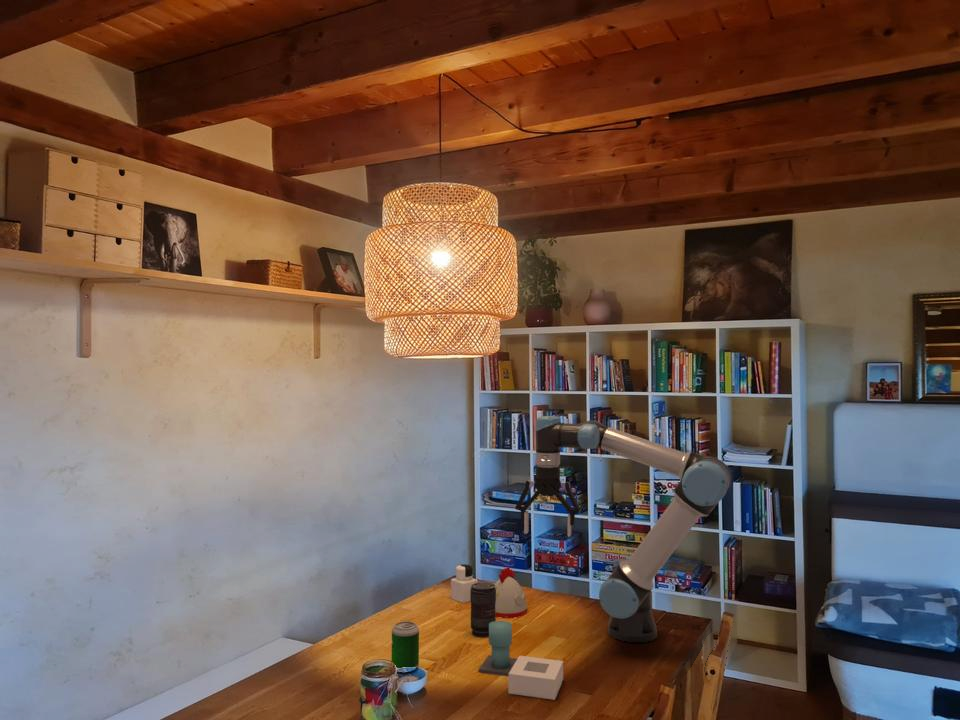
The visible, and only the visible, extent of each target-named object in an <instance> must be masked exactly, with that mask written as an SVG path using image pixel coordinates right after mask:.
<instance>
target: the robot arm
mask: <svg viewBox="0 0 960 720" xmlns="http://www.w3.org/2000/svg"><path fill="white" fill-rule="evenodd" d="M536 418H537V419H536V421H535V422H536V424H535V464H536V466H535V481H534V480H533V481H532V480H531V479H528V480H526V481H525V484H524V489H523V492H521V495H520V497H519V499H518V501H517V502H516V504H515V510H516V511H519V512H520V518H521V519H520V521H521V523H523V524H524V526H523V527H524V528H523V531H524V535H525V534H526V535H527V534H528V533H529V531H530V530H529V529H530V528H529V520H530V519H529V516H530V515H529V510H527V509H528V508H529V507H530V506H531V505H532V504H533V503H534V502H535V501H536V499H537V498H538V497H539V496H540V495H541V496H542V497H554V496H555V498H556V499H558V501H559V502H560V503H561V504H562V506H563V507H564V509H565V510H566V511H567V512H568V514H567V537H568V538H569V537H571V536H572V526H575V523H576V520H575V519H576V518H575V517H576V515H577V514H580V512H581V511H582V509H581V507H580V505H579V503H578V501H577V499H576V497H575V494H574V493H573V490H572V488H571V482H570V481H566V482H561V467H560V465H561V448H570V449H583V450H593V449H594V450H595V449H596V448H597V449H600V450H603V451H606V452H609V453H611V454H615V455H618V456H619V457H623V458H626V459H628V460H631V461H634V462H637V463H639V464H641V465H644V466H648V467H651V468H653V469H656V470H658V471H661V472H665V473H667V474H670V475H673V476H675V477H678V478H679V481H678V483H677V484H676V486H675V487H674V489H673V496H674V497H673V499H672V501H671V502H670V503H669V505H668V506H667V508H666V509H664V511H663V512H662V514H661V515H660V517H659V518H658V519H657V521H656V522H655V523H654V525H653V526H652V528H651V529H650V530H649V531H648V533H647V535H646V536H645V537H644V538H643V540H642V541H641V543H640V544H639V545H638V547H637V548H636V549H635V550H634V552H633V553H632V554H631V555H630V558H617V559H615V560H614V561H613V565H612V568H613V570H612V572H611V574H610V575H609V577H608V578H607V579H606V580H604V582H602V583H601V586H600V589H599V592H598V600H599V603H600V606H601V607H602V609H603V610H604V611H605V612H606V613H607V614H608V615H609V617H610V618H609V620H608V623H607V634H608V635H609V637H612V638H613V639H615V640H617V639H618V640H617V641H620V640H621V642H624V641H627V642H626V643H631V642H644V643H649V642H648V641H650V642H653V641H654V639H655V638H656V639H657V638H658V628H657V625H656V621H655V618H654V615H653V612H652V590H653V588H654V581H653V580H654V578H655V577H656V575H658V573H659V572H660V570H661V569H662V568H663V566H664V565H665V564H666V563H667V561H668V560H669V558H670V557H671V556H672V555H673V553H674V552H675V551H676V549H677V548H678V547H679V546H680V544H681V543H682V541H683V540H684V539H685V537H686V536H687V535H688V533H690V531H691V529H693V527H694V526H695V524H696V523H697V522H698V521H699V519H701V517H708V516H709V515H710V514H711V513H712V511H713V510H714V509H715V507H716V506H717V505H718V503H720V502H721V500H723V499H724V497H725V496H726V494H727V492H728V490H729V488H730V486H731V484H732V473H731V471H730V468H729V466H727V464H726V463H725V462H723V460H721V459H718V458H715V457H713V456H708V455H704V454H701V453H697V452H694V451H689V452H683V451H681V450H678V449H674V448H673V447H672V448H671V447H669V446H666V445H663V444H661V443H657V442H654V441H652V440H648V439H645V438H642V437H640V436H637V435H634V434H630V433H628V432H625V431H622V430H619V429H616V428H613V427H609V426H606V425H604V424H602V422H600V421H598V420H594V419H593V420H592V419H591V420H587V421H584V422H579V423H565V422H561V419H560V416H552V415H541V416H538V417H536ZM533 486H534V487H535V489H536V491H535V493H534V494H533V495H532V496H531V497H530V498H529V499H528V500H527V501H526V503H525V504H524V505H523V503H524V501H525V500H526V498H527V496H528V494H529V492H530V489H532V488H533ZM561 488H563V490H565V492H566V495H567V496H568V498H569V499H568V500H569V501H570V502H569V501H567V499H566V498H565V497H564V496H563V494H562V492H561V491H560V489H561ZM570 503H571V504H570ZM571 505H572V506H571ZM656 639H655V640H656ZM622 640H623V641H622ZM652 640H653V641H652Z"/></svg>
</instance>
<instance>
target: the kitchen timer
mask: <svg viewBox="0 0 960 720" xmlns="http://www.w3.org/2000/svg"><path fill="white" fill-rule="evenodd" d="M500 571H501V572H500V574H499V573H498V577H499V579H498V580H496V582H495V583H493V584H494V585H495V588H496V603H495V615H496V618H498V617H502V618H501V619H515V618H514V617H517V618H520V617H519V616H521V617H523V616H522V615H524V614H525V615H526V614H527V613H528V603H527V600H526V592H524V591H523V589H522V587H521V584H519V583H518V581H517V580H515V579H514V576H515V571H513V569H511V568H510V567H509V566H506V567H504V568H503V569H501V570H500ZM526 612H527V613H526ZM525 615H524V616H525Z"/></svg>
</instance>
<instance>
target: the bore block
mask: <svg viewBox="0 0 960 720" xmlns="http://www.w3.org/2000/svg"><path fill="white" fill-rule="evenodd" d="M516 659H517V661H516V662H515V664H514V666H513V667H512V669H511V670H510V672H509V676H508V679H507V680H508V681H507V682H508V691H507V692H508V694H509V695H518V696H525V697H532V698H538V699H546V700H547V699H548V700H552V701H553V700H554V701H555V700H556V698H557V696H558V693H559V690H560V688H561V686H562V685H563V684H562V683H563V682H564V661H563V660H559V659H558V660H557V659H551V658H550V659H549V658H543V657H542V658H541V657H533V656H527V655H526V656H525V655H519V656H518V658H516ZM562 681H563V682H562Z"/></svg>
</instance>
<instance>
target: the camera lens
mask: <svg viewBox="0 0 960 720" xmlns="http://www.w3.org/2000/svg"><path fill="white" fill-rule="evenodd" d="M494 584H495V583H492V582H487V581H486V582H485V581H483V582H482V581H481V582H478V583H475V584H472V585H471V589H470V601H469V602H470V629H471V631H472V632H471V633H472V635H473V636H475V637H479V638H487V637H488V638H489V623H491V622H494V621H497V619H496V618H497V617H496V615H495V603H496V588H495V585H494Z"/></svg>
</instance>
